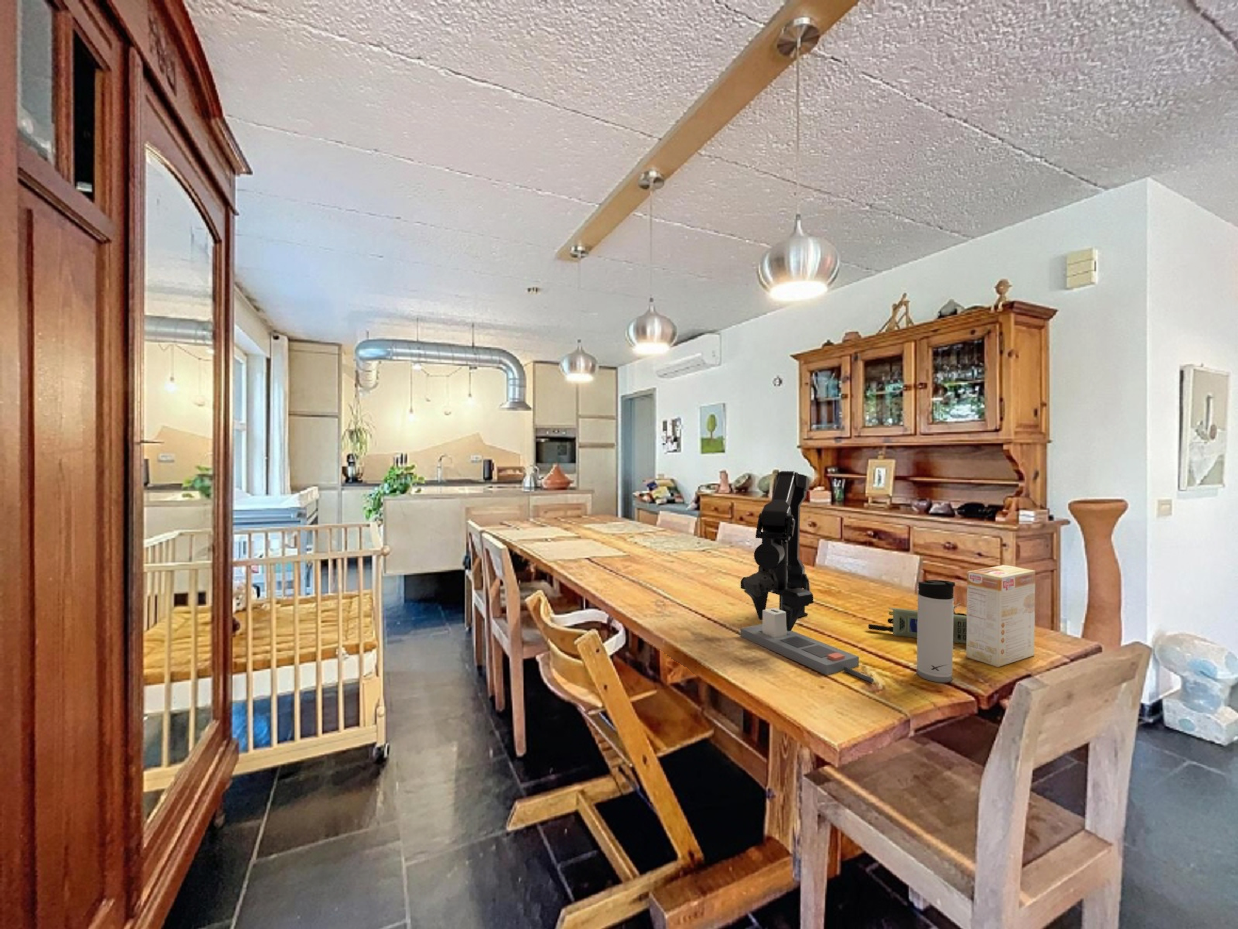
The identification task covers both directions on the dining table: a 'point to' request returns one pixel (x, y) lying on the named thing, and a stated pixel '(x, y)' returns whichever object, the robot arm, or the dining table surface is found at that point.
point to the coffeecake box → (1000, 614)
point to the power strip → (806, 651)
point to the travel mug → (935, 630)
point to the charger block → (774, 623)
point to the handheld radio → (907, 625)
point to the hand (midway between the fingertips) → (774, 625)
